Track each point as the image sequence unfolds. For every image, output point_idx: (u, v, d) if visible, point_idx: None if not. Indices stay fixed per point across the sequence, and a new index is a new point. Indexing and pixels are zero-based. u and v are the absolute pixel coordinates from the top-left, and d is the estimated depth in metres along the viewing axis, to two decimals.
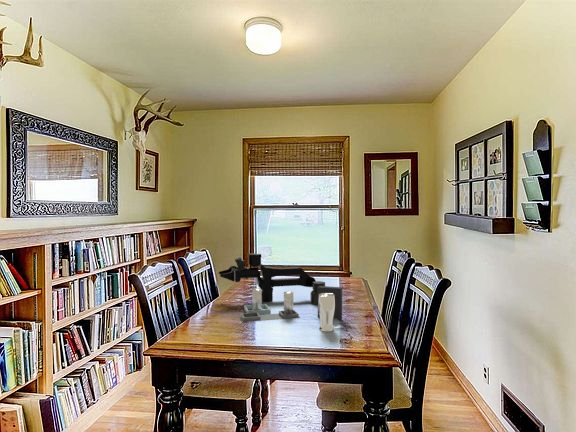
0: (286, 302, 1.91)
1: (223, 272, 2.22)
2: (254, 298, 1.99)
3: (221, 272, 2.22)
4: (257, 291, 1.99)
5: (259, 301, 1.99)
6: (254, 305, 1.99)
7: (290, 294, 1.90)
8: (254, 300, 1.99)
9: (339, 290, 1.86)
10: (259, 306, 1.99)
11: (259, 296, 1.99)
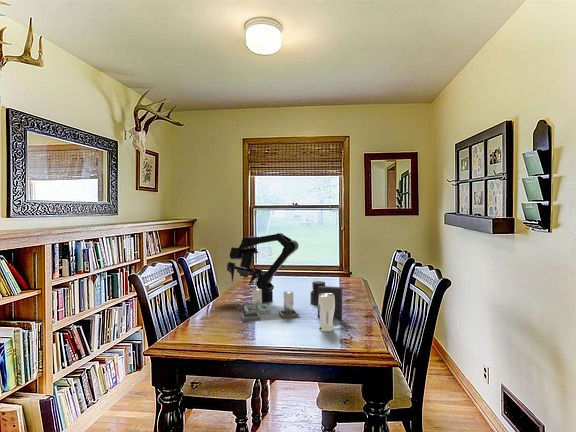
0: (286, 302, 1.91)
1: (250, 281, 2.17)
2: (254, 298, 1.99)
3: (249, 283, 2.16)
4: (257, 291, 1.99)
5: (259, 301, 1.99)
6: (254, 305, 1.99)
7: (290, 294, 1.90)
8: (254, 300, 1.99)
9: (339, 290, 1.86)
10: (259, 306, 1.99)
11: (259, 296, 1.99)
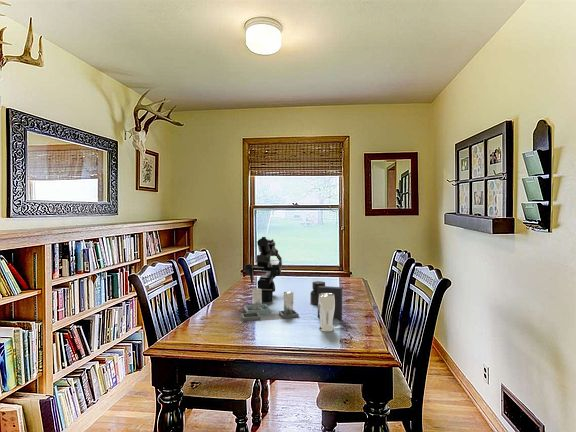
0: (286, 302, 1.91)
1: (252, 278, 2.11)
2: (254, 298, 1.99)
3: (252, 280, 2.10)
4: (257, 291, 1.99)
5: (259, 301, 1.99)
6: (254, 305, 1.99)
7: (290, 294, 1.90)
8: (254, 300, 1.99)
9: (339, 290, 1.86)
10: (259, 306, 1.99)
11: (259, 296, 1.99)
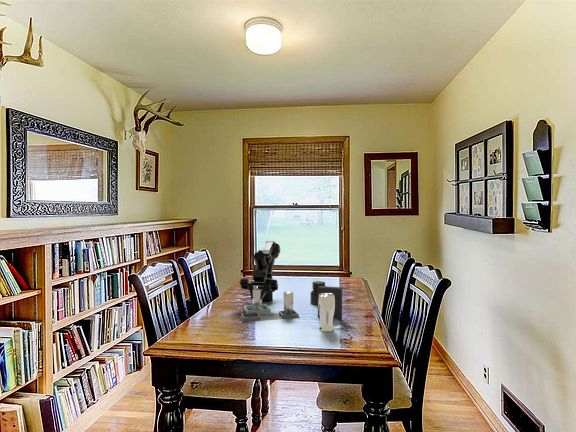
0: (286, 302, 1.91)
1: None
2: (254, 298, 1.99)
3: None
4: (257, 291, 1.99)
5: (259, 301, 1.99)
6: (254, 305, 1.99)
7: (290, 294, 1.90)
8: (254, 300, 1.99)
9: (339, 290, 1.86)
10: (259, 306, 1.99)
11: (259, 296, 1.99)
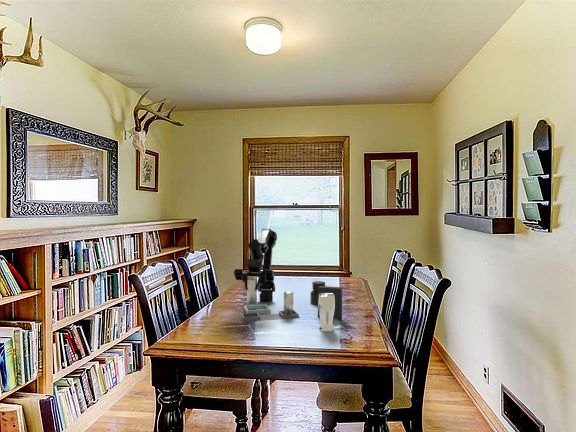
0: (286, 302, 1.91)
1: None
2: (249, 288, 1.88)
3: (246, 286, 1.90)
4: (252, 281, 1.88)
5: (254, 292, 1.89)
6: (249, 296, 1.88)
7: (290, 294, 1.90)
8: (249, 291, 1.88)
9: (339, 290, 1.86)
10: (254, 297, 1.89)
11: (254, 287, 1.89)
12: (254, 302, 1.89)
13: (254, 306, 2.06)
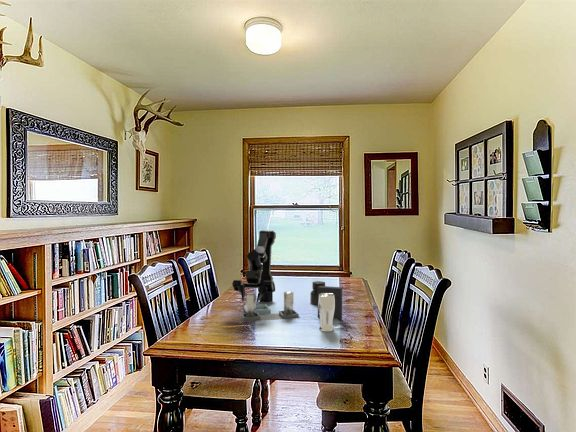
0: (286, 302, 1.91)
1: (243, 296, 1.89)
2: (248, 303, 1.86)
3: (243, 298, 1.88)
4: (251, 296, 1.86)
5: (253, 307, 1.86)
6: (247, 311, 1.86)
7: (290, 294, 1.90)
8: (247, 306, 1.86)
9: (339, 290, 1.86)
10: (253, 312, 1.87)
11: (253, 302, 1.86)
12: None
13: None
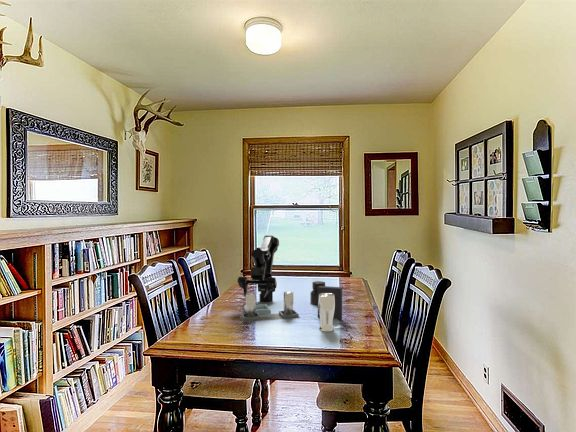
0: (286, 302, 1.91)
1: (246, 292, 1.98)
2: (248, 303, 1.86)
3: (245, 293, 1.97)
4: (251, 296, 1.86)
5: (253, 307, 1.86)
6: (247, 311, 1.86)
7: (290, 294, 1.90)
8: (247, 306, 1.86)
9: (339, 290, 1.86)
10: (253, 312, 1.87)
11: (253, 302, 1.86)
12: None
13: None
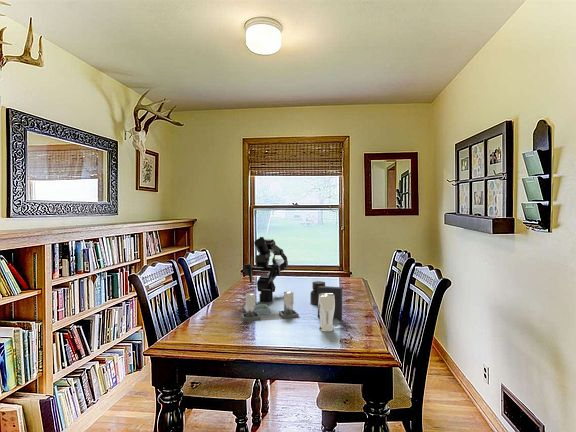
0: (286, 302, 1.91)
1: (251, 278, 2.10)
2: (248, 303, 1.86)
3: (251, 280, 2.09)
4: (250, 296, 1.86)
5: (253, 307, 1.87)
6: (247, 311, 1.86)
7: (290, 294, 1.90)
8: (247, 306, 1.86)
9: (339, 290, 1.86)
10: (253, 312, 1.87)
11: (253, 302, 1.86)
12: None
13: None
